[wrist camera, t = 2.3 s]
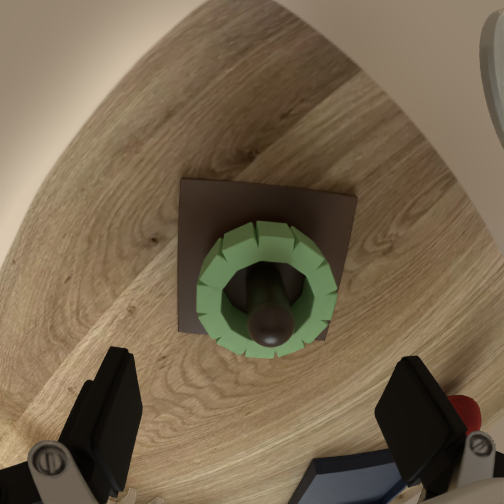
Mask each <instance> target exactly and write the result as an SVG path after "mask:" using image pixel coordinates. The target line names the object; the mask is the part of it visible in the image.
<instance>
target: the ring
mask: <svg viewBox="0 0 504 504" xmlns="http://www.w3.org/2000/svg"><path fill="white" fill-rule="evenodd" d="M259 261H268V262H281V263H288V264H289V265H291V266H292V267H294V268H295V269H297V270H298V271H300V272H301V273H303V274H304V275H305V281H304V286H303V291H302V295H301V296H300V297H299V298H298V299H297V301H296V302H295V303H294V304H293V305H292V306H291V307H290V308H291V311H292V312H293V315H294V318H295V329H294V332H293V334H292V336H291V338H290V339H289V340H288V341H287V342H286V343H284V344H283V345H281V346H278V347H272V348H269V347H264V346H261V345H259V344H257V343H256V342H255V341H254V340H253V339H252V338H251V337H250V335H249V333H248V330H247V314H245V313H244V312H242V311H240V310H239V309H237V308H235V307H234V306H232V304H231V303H230V301H229V299H228V297H227V296H226V294H225V292H224V290H223V288H224V287H225V286H226V284H227V283H228V282H229V280H230V279H231V278H232V277H233V275H234V274H235V273H236V271H238V270H240V269H242V268H245V267H247V266H249V265H252V264H254V263H256V262H259ZM335 290H337V285H336V282H335V279H334V276H333V274H332V271H331V268H330V265H329V263H328V262H327V260H326V258H325V257H324V255H323V254H322V252H321V251H320V249H319V248H318V247H317V246H316V244H315V243H314V241H312V240H311V239H310V238H308V237H307V236H306V235H304V234H303V233H302V232H300V231H299V230H297V229H296V228H295V227H293V226H291V227H290V229H289V227H288V225H287V224H286V223H276V222H266V221H257V222H256V230H255V228H254V226H253V223H252V222H250V223H247V224H245V225H243V226H241V227H238V228H236V229H234V230H232V231H229V232H227V233H225V234H224V239H222V238H219V239H218V240H217V242H216V243H215V245H214V246H213V247H212V249H211V250H210V252H209V253H208V254H207V256H206V257H205V259H204V261H203V265H202V267H201V271H200V275H199V278H198V282H197V295H196V312H197V313H199V314H198V318H199V320H200V322H201V323H202V325H203V326H204V328H205V329H206V331H207V332H208V334H209V336H210V337H211V339H212V340H213V339H216V343H217V344H219V345H221V346H223V347H224V348H226V349H228V350H230V351H232V352H234V353H236V354H238V355H242V353H243V352H244V351H245V357H253V358H274V355H275V352H276V354H277V355H278V357H281V356H284V355H287V354H289V353H292V352H294V351H297V350H300V349H302V348H304V347H305V344H304V342H306V343H308V344H310V343H311V342H312V341H313V340H314V339H315V338H316V337H317V336H318V335H319V334H320V333H321V332H322V331H323V330H324V329H325V328H326V327H327V326H328V322H327V320H331V319H332V315H333V311H334V307H335V303H336V300H337V296H338V295H337V292H336V291H335Z"/></svg>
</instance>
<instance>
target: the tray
mask: <svg viewBox="0 0 504 504" xmlns="http://www.w3.org/2000/svg"><path fill="white" fill-rule="evenodd" d="M406 487H407V483H406V482H404V481H403V480H402V478H401V476H400V473H399V471H398V469H397V466H396V464H395V461H394V459H393V457H392V454H391V452H390V450H389V449H385V450H379V451H374V452H368V453H361V454H355V455H347V456H339V457H330V458H320V459H313V460H312V462H311V464H310V466H309V468H308V470H307V471H306V473H305V475H304V477H303V479H302V480H301V482H300V484H299V486H298V487H297V489H296V491H295V493H294V494H293V496H292V498H291V499H290V501H289V503H288V504H389V503H390V502H391V501H392V500H393V499H394V498H395V497H396V496H398V495H399V494H400V493H401V492H402V491H403V490H404V489H405V488H406Z"/></svg>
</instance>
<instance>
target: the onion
mask: <svg viewBox="0 0 504 504" xmlns="http://www.w3.org/2000/svg"><path fill="white" fill-rule="evenodd" d="M447 398H448V399H449V401H450V402H451V404H452V405H453V407H454V408H455V410H456V411H457V413H458V414H459V416H460V417H461V419H462V420H463V422H464V423H465V425H466V427H467V428H468V431H467V432H466V435H467V436H468V435H469V434H470V433H471V432H473V431H480V427H481V413H480V408H479V406H478V404H477V402H475V401H474V400H473V399H472V398H470V397H467V396H464V395H451V396H447Z"/></svg>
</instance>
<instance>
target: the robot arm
mask: <svg viewBox="0 0 504 504" xmlns="http://www.w3.org/2000/svg"><path fill="white" fill-rule="evenodd" d="M142 410H143V407H142V401H141V396H140V391H139V385H138V380H137V374H136V368H135V361H134V356H133V354H131V353H129V352H128V349H126V348H120V347H113V346H111V347H110V348H109V350H108V352H107V354H106V356H105V358H104V360H103V362H102V364H101V366H100V368H99V370H98V372H97V374H96V377H95V379H94V381H92V380H87V381H86V382H85V383H84V385H83V387H82V389H81V391H80V393H79V395H78V397H77V399H76V401H75V404H74V406H73V408H72V410H71V412H70V414H69V417H68V419H67V421H66V423H65V426H64V428H63V430H62V432H61V435H60V437H59V439H58V442H57V441H53V440H44V441H41V442H38V443H36V444H35V445H34V446H33V447H32V448H31V449H30V451H29V453H28V458H27V460H28V461H26V462H23V463H20V464H17V465H14V466H11V467H8V468H5V469H2V470H0V504H106V503H107V502H108V498H109V496H111V497H115V498H117V497H118V492H119V491H121V492H123V491H124V488H125V484H126V479H127V475H128V470H129V466H130V462H131V457H132V453H133V449H134V445H135V440H136V436H137V432H138V428H139V424H140V420H141V416H142ZM375 418H376V420H377V422H378V424H379V427H380V429H381V431H382V433H383V436H384V438H385V440H386V443H387V445H388V447H389V450H390V452H391V454H392V457H393V459H394V461H395V464H396V466H397V469H398V471H399V473H400V476H401V478H402V480H403V481H404V482H406V483H407V486H408V488H409V487H412V486H416V485H419V484H420V483H421V482H422V484H423V489H422V492H421V495H420V497H419V500H418V503H417V504H504V454H502V453H500V452H497V451H496V448H495V443H494V440H493V439H492V438H491V437H490V436H489V435H488V434H487V433H485V432H482V431H473V432H471V433H470V434H469V435H468V436H467V435H466V432H467V431H468V428H467V427H466V425H465V423H464V422H463V420H462V419H461V417H460V416H459V414H458V413H457V411H456V410H455V408H454V407H453V405H452V404H451V402H450V401H449V399H448V398H447V396H446V395H445V393H444V392H443V390H442V389H441V387H440V386H439V385H438V383H437V382H436V380H435V379H434V377H433V376H432V374H431V373H430V372H429V370H428V369H427V367H426V366H425V365H424V363H423V362H422V360H421V359H420V358H419V357H418V356H406V357H403V358H402V359H401V360H400V361H399V362H398V363H397V365H396V367H395V369H394V371H393V373H392V376H391V378H390V380H389V382H388V384H387V386H386V388H385V390H384V392H383V394H382V396H381V398H380V400H379V402H378V404H377V406H376V408H375Z"/></svg>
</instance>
